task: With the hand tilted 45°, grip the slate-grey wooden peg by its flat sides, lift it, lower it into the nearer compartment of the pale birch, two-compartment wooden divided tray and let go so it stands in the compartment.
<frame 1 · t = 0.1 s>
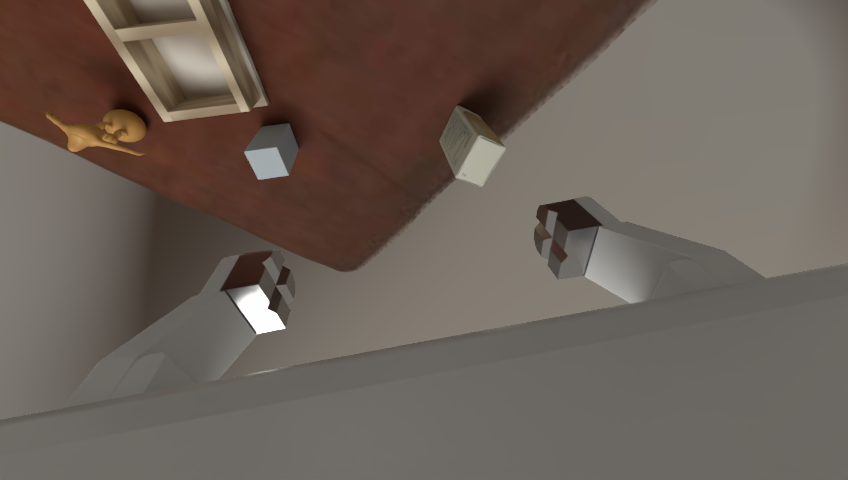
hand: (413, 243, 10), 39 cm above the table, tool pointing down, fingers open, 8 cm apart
figurine: (136, 113, 40), on the table
skincare box: (458, 127, 47), on the table
grey peg: (280, 138, 45), on the table
wooden divided tray: (186, 23, 35), on the table
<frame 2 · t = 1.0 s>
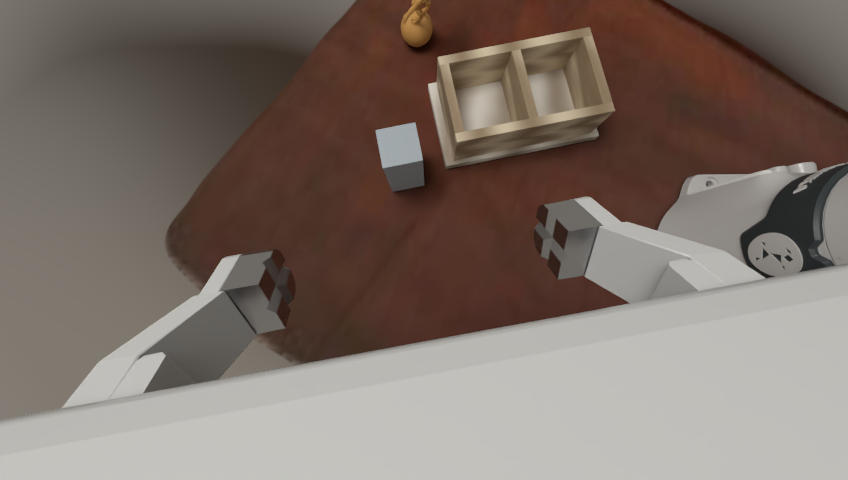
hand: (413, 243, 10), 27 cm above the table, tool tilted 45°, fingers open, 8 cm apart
figurine: (423, 45, 40), on the table
grey peg: (405, 173, 38), on the table
wooden divided tray: (509, 113, 38), on the table
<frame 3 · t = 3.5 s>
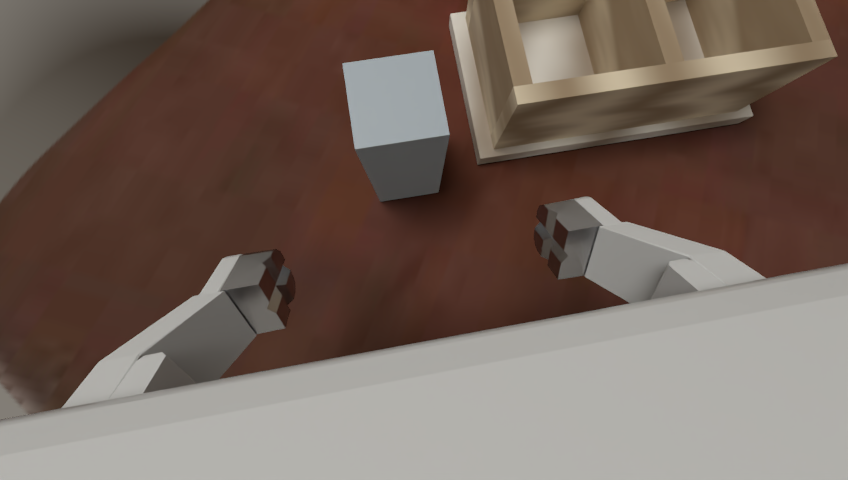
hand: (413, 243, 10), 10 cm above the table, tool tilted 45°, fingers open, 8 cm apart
grey peg: (404, 169, 21), on the table
wooden divided tray: (590, 73, 22), on the table
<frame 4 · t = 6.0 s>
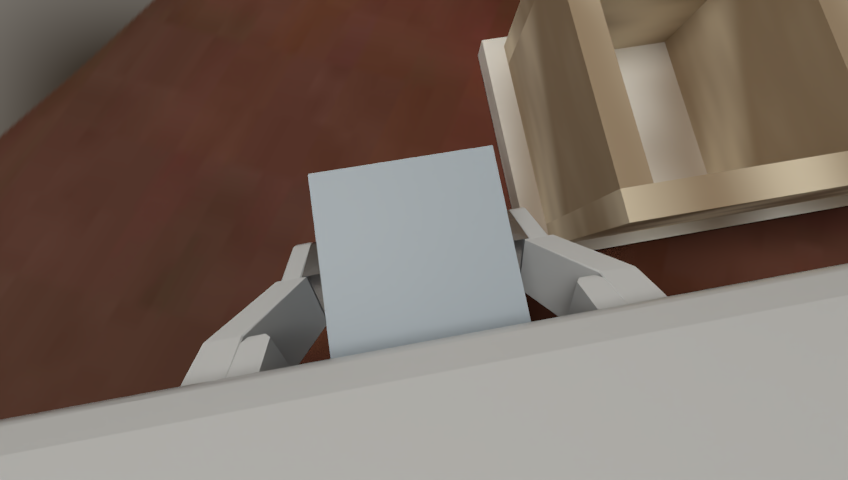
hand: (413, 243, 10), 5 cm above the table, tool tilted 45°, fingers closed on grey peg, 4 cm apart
grey peg: (417, 270, 14), on the table, touching gripper
wooden divided tray: (680, 125, 15), on the table
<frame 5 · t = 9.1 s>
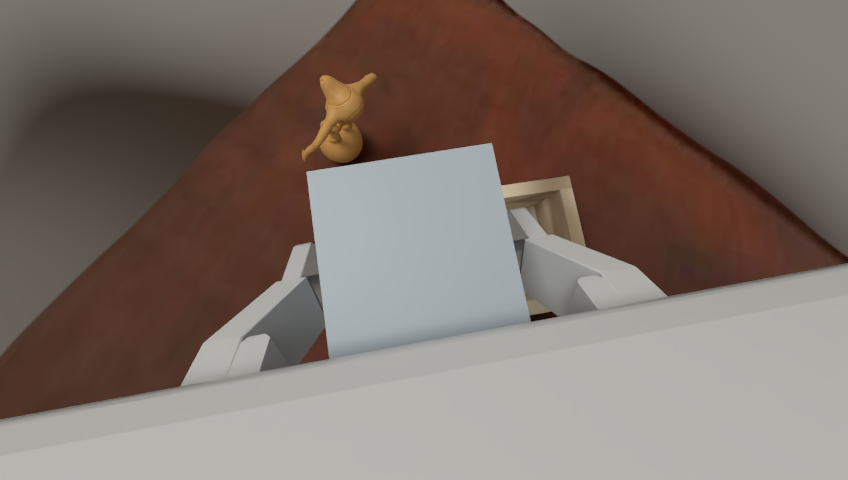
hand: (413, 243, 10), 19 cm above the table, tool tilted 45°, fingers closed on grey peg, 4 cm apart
figurine: (354, 156, 30), on the table
grey peg: (417, 269, 14), point 14 cm above the table, touching gripper
wooden divided tray: (462, 260, 29), on the table
when the fingers open (9 cm above the table, at t = 12.6 s): grey peg drops 3 cm, resting on wooden divided tray.
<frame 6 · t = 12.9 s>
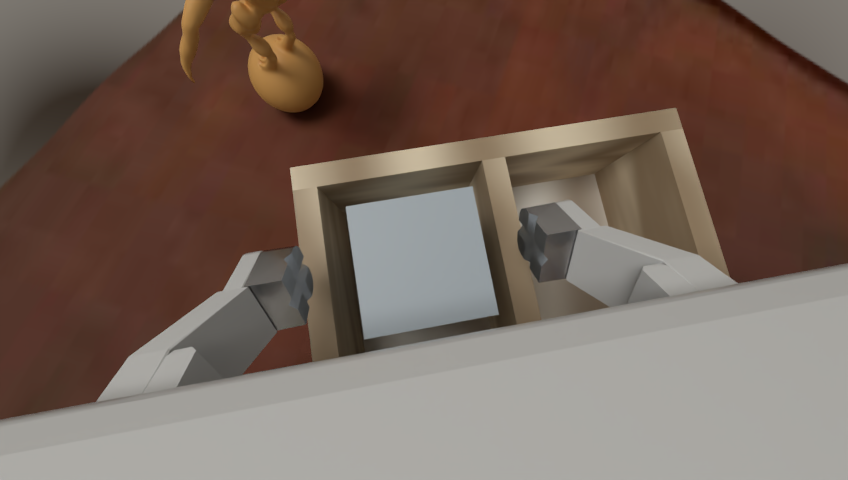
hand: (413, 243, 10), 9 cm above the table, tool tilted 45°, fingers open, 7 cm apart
figurine: (314, 106, 20), on the table
grey peg: (417, 271, 17), point 1 cm above the table, touching wooden divided tray
wooden divided tray: (482, 261, 18), on the table
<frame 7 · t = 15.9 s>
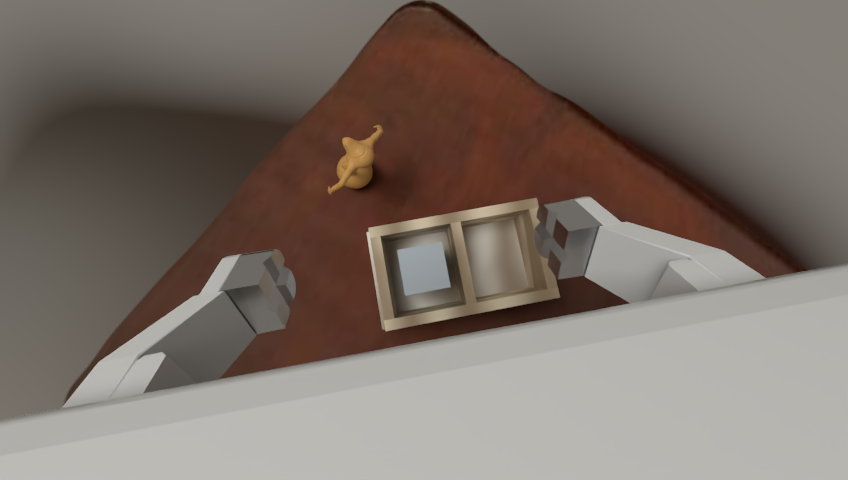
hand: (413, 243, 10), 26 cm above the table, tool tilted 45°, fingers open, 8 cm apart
figurine: (365, 182, 36), on the table
grey peg: (422, 270, 34), point 1 cm above the table, touching wooden divided tray
wooden divided tray: (456, 264, 35), on the table
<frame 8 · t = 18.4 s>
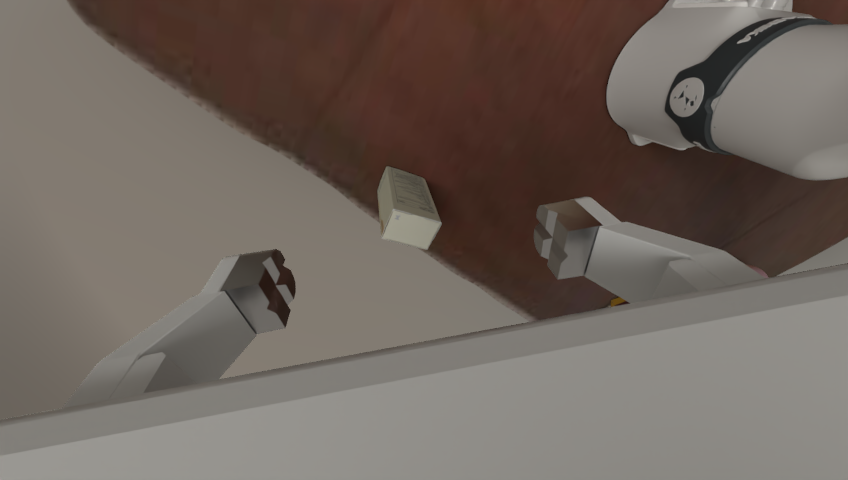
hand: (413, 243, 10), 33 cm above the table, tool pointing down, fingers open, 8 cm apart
skincare box: (402, 184, 45), on the table
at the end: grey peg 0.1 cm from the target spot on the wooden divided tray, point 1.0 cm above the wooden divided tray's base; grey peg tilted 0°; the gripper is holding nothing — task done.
